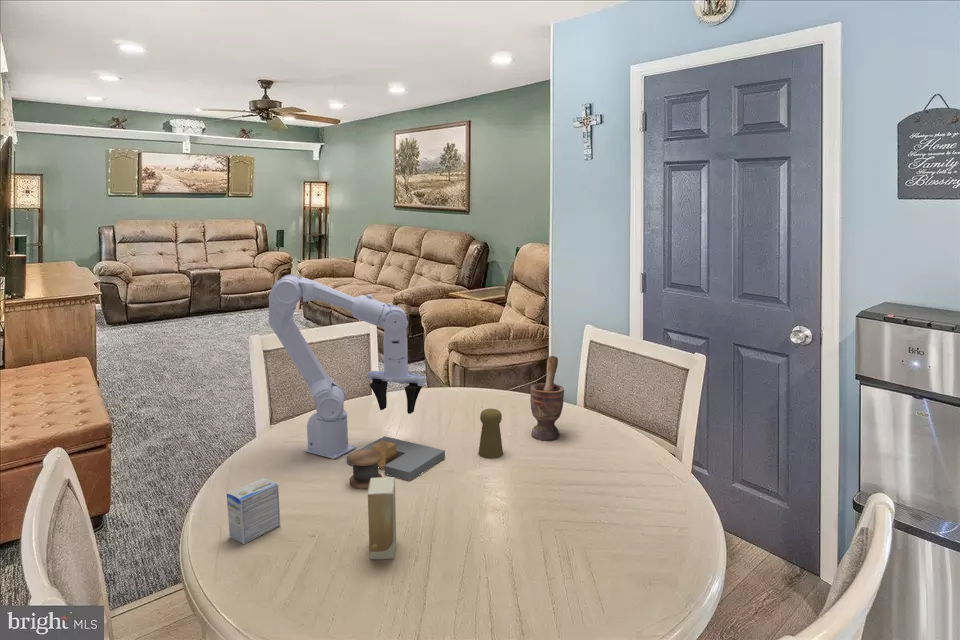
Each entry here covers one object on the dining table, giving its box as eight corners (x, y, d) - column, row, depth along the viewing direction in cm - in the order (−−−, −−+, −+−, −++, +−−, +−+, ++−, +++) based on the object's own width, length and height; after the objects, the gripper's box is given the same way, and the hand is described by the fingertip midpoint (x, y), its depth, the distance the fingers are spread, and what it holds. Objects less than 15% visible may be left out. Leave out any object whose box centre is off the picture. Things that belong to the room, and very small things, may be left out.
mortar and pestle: (526, 425, 164) (528, 354, 161) (558, 425, 165) (560, 354, 161) (531, 441, 153) (532, 365, 149) (565, 441, 153) (567, 365, 150)
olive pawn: (501, 459, 142) (501, 415, 140) (475, 457, 143) (476, 413, 141) (505, 449, 148) (505, 407, 146) (480, 447, 149) (481, 405, 147)
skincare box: (372, 540, 107) (370, 476, 105) (396, 539, 108) (395, 475, 105) (368, 561, 101) (366, 493, 99) (394, 560, 101) (393, 492, 99)
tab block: (372, 466, 138) (371, 446, 137) (383, 460, 141) (382, 440, 141) (385, 470, 136) (385, 449, 135) (396, 464, 139) (396, 443, 139)
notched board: (346, 463, 139) (346, 455, 139) (385, 443, 151) (384, 436, 151) (409, 481, 131) (409, 472, 130) (444, 458, 143) (444, 450, 142)
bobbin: (342, 484, 129) (341, 458, 128) (364, 472, 135) (363, 446, 134) (368, 491, 126) (367, 464, 124) (389, 479, 132) (388, 453, 130)
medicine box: (266, 519, 114) (263, 476, 113) (281, 526, 112) (278, 483, 110) (229, 537, 108) (225, 492, 106) (244, 545, 106) (240, 499, 104)
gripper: (360, 358, 144) (362, 412, 146) (415, 363, 139) (416, 419, 142) (375, 351, 150) (377, 403, 153) (428, 356, 146) (428, 410, 148)
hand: (396, 410), depth 148 cm, fingers open, 7 cm apart
